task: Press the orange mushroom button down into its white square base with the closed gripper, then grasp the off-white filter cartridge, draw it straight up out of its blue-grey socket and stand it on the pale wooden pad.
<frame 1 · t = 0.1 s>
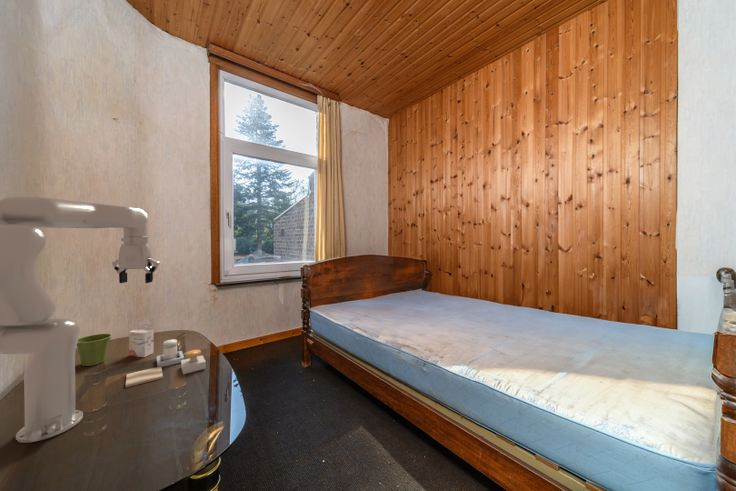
hand: (136, 282, 110), 37 cm above the table, tool pointing down, fingers open, 9 cm apart
white square base: (193, 367, 115), on the table
filter cartridge: (170, 351, 121), in the filter socket
ink cartridge box: (141, 355, 127), on the table
wooden pad: (144, 377, 107), on the table
filter socket: (170, 361, 121), on the table
orange mushroom button: (193, 357, 115), point 5 cm above the table, slide at 0.0 cm
plant pot: (94, 363, 119), on the table
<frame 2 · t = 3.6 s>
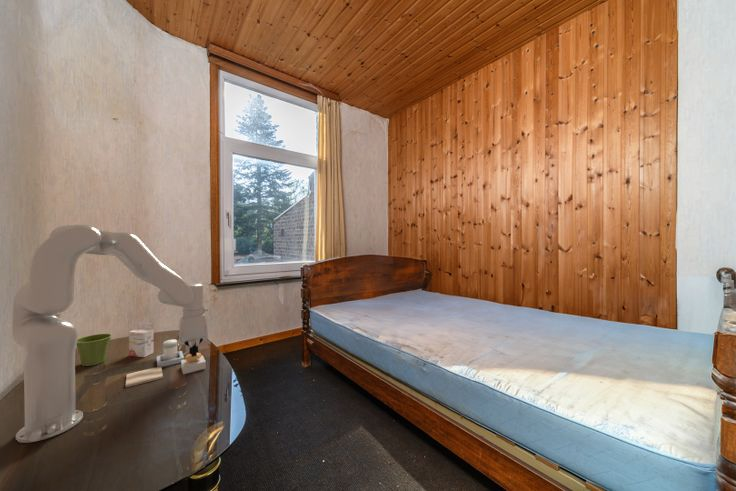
hand: (193, 355, 115), 5 cm above the table, tool pointing down, fingers closed
orange mushroom button: (193, 360, 115), point 3 cm above the table, slide at 1.3 cm, touching gripper
everything else where it was.
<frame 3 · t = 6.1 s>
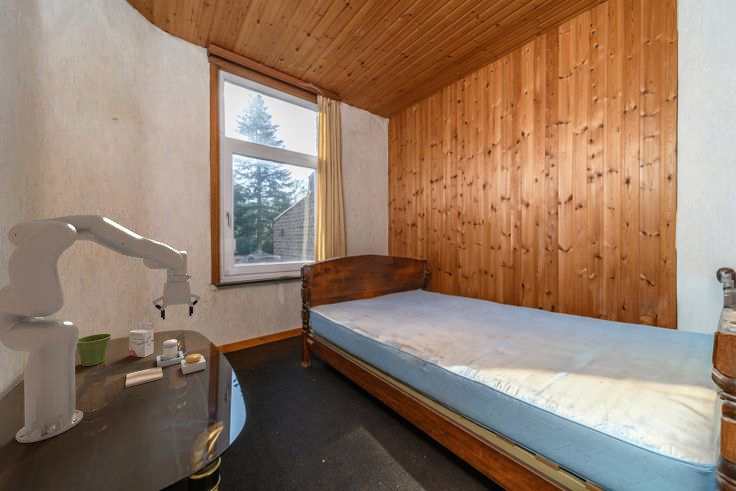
hand: (177, 317, 119), 20 cm above the table, tool pointing down, fingers open, 9 cm apart
orange mushroom button: (193, 361, 115), point 3 cm above the table, slide at 1.8 cm
everything else where it was.
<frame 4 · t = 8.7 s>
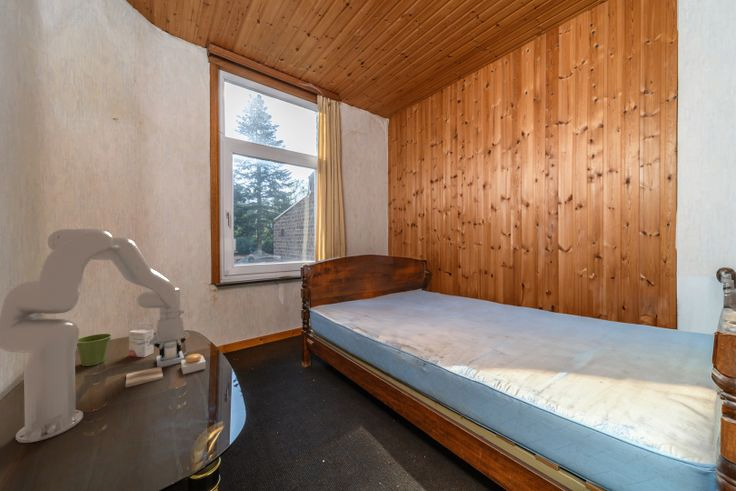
hand: (170, 354, 121), 3 cm above the table, tool pointing down, fingers closed on filter cartridge, 5 cm apart
filter cartridge: (170, 351, 121), in the filter socket, touching gripper
everything else where it was.
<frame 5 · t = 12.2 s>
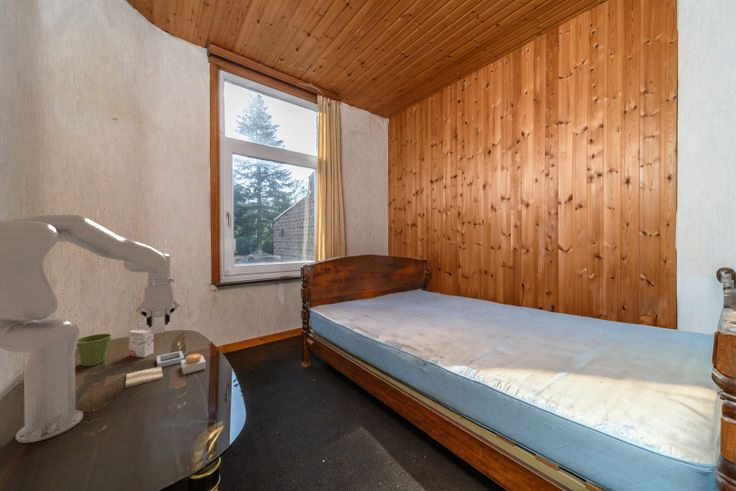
hand: (158, 324, 114), 19 cm above the table, tool pointing down, fingers closed on filter cartridge, 5 cm apart
filter cartridge: (158, 321, 114), point 20 cm above the table, touching gripper
everything else where it was.
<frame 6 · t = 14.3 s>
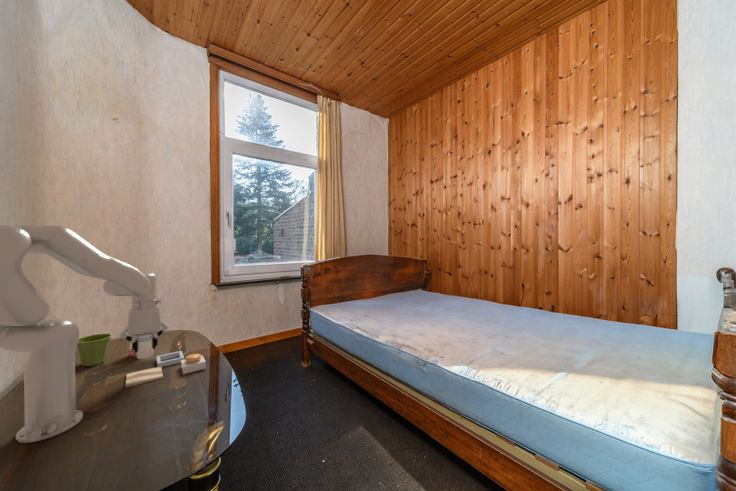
hand: (145, 349, 107), 11 cm above the table, tool pointing down, fingers closed on filter cartridge, 5 cm apart
filter cartridge: (145, 345, 107), point 13 cm above the table, touching gripper
everything else where it was.
when the fingers open (5 cm above the table, at t = 15.9 s): filter cartridge drops 1 cm, resting on wooden pad.
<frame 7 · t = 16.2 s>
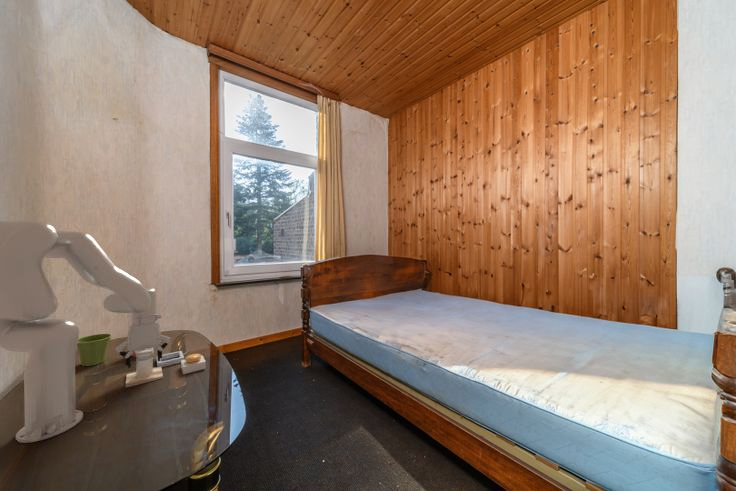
hand: (144, 363, 107), 6 cm above the table, tool pointing down, fingers open, 8 cm apart
filter cartridge: (144, 363, 107), on the wooden pad, point 5 cm above the table
everything else where it was.
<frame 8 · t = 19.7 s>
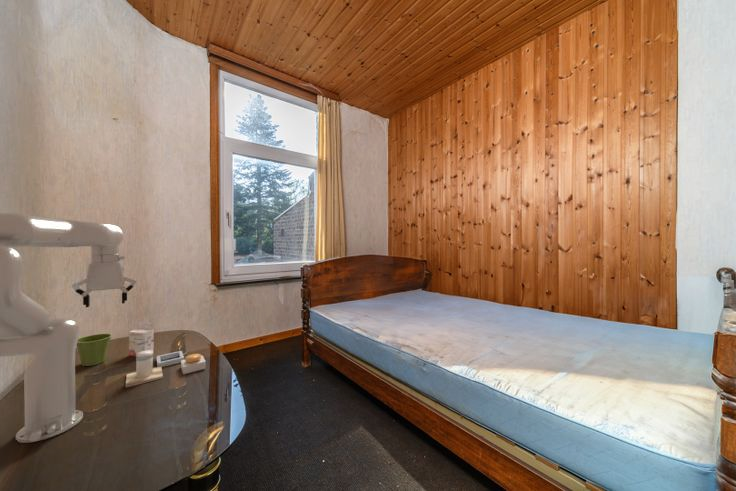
hand: (106, 304, 101), 30 cm above the table, tool pointing down, fingers open, 9 cm apart
nothing on the table moved.
at the end: orange mushroom button slide at 1.8 cm; filter cartridge inside the target area on the wooden pad (0.0 cm from its centre), point 5.3 cm above the wooden pad's base; filter cartridge tilted 1° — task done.
